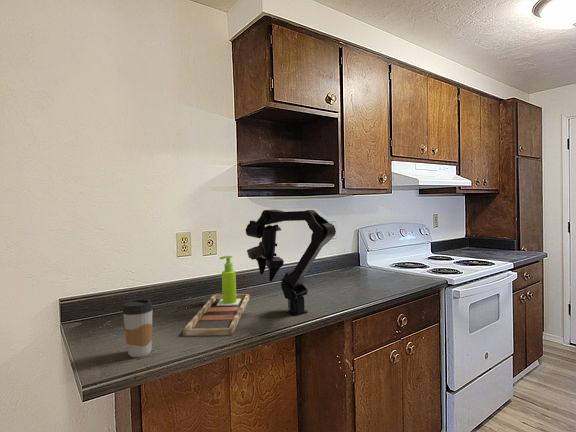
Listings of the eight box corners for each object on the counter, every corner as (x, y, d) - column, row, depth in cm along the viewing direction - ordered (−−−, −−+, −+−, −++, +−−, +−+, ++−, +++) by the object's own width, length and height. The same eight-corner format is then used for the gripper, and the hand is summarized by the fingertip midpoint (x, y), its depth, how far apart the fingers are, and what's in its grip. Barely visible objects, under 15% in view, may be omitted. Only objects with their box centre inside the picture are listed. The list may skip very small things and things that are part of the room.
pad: (237, 305, 151) (237, 304, 151) (216, 305, 151) (216, 304, 151) (241, 299, 160) (241, 298, 160) (220, 299, 160) (220, 299, 160)
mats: (234, 319, 133) (234, 319, 133) (200, 320, 133) (200, 319, 133) (240, 307, 148) (240, 307, 148) (210, 308, 148) (210, 307, 148)
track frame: (231, 335, 118) (231, 329, 118) (182, 335, 118) (182, 330, 118) (249, 298, 162) (249, 293, 161) (213, 299, 162) (213, 294, 162)
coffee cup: (145, 344, 111) (143, 297, 111) (160, 351, 106) (158, 301, 105) (119, 354, 105) (116, 303, 104) (133, 361, 100) (130, 308, 99)
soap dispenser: (218, 302, 155) (216, 256, 154) (231, 299, 159) (230, 254, 159) (225, 305, 150) (223, 257, 150) (239, 301, 155) (237, 255, 154)
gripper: (241, 236, 150) (239, 272, 152) (259, 245, 134) (256, 286, 135) (266, 235, 155) (263, 271, 157) (285, 245, 139) (282, 284, 141)
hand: (265, 277), depth 147 cm, fingers open, 9 cm apart
